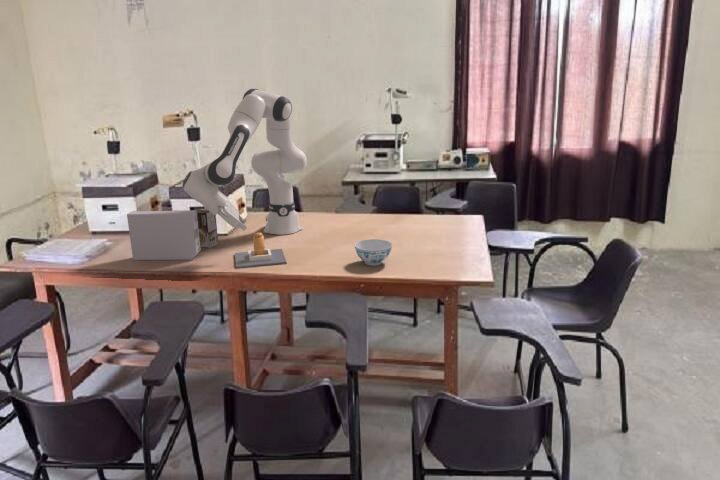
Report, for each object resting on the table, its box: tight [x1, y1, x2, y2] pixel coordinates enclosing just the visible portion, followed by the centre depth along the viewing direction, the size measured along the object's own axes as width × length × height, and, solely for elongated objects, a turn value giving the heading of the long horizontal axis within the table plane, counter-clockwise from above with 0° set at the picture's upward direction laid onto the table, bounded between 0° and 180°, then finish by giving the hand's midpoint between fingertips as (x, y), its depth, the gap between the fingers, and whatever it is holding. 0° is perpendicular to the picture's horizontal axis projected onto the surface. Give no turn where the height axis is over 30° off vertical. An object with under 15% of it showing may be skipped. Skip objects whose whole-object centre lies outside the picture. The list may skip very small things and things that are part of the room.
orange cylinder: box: [252, 232, 266, 256], centre depth 243 cm, size 4×4×10 cm
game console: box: [126, 209, 201, 261], centre depth 246 cm, size 6×27×20 cm, turn 88°
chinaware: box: [354, 238, 393, 267], centre depth 236 cm, size 15×15×8 cm
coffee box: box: [195, 207, 219, 249], centre depth 263 cm, size 9×6×16 cm
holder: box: [234, 248, 288, 269], centre depth 244 cm, size 18×20×3 cm
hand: (245, 225), depth 239 cm, fingers open, 8 cm apart
